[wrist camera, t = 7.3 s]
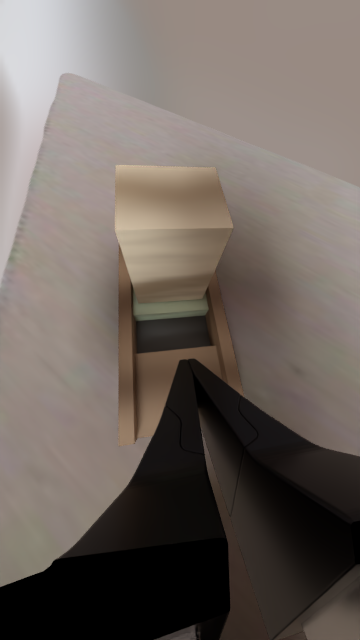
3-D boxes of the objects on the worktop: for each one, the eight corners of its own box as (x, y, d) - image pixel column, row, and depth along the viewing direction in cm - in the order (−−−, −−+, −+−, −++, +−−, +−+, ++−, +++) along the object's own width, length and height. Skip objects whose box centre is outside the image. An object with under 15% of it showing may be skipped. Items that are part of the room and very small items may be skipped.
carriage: (202, 299, 16) (233, 227, 9) (138, 303, 16) (115, 230, 8) (194, 256, 18) (215, 167, 11) (136, 259, 17) (115, 165, 10)
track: (233, 416, 15) (250, 424, 12) (128, 433, 14) (118, 446, 11) (198, 243, 22) (203, 220, 19) (125, 245, 21) (118, 221, 18)
